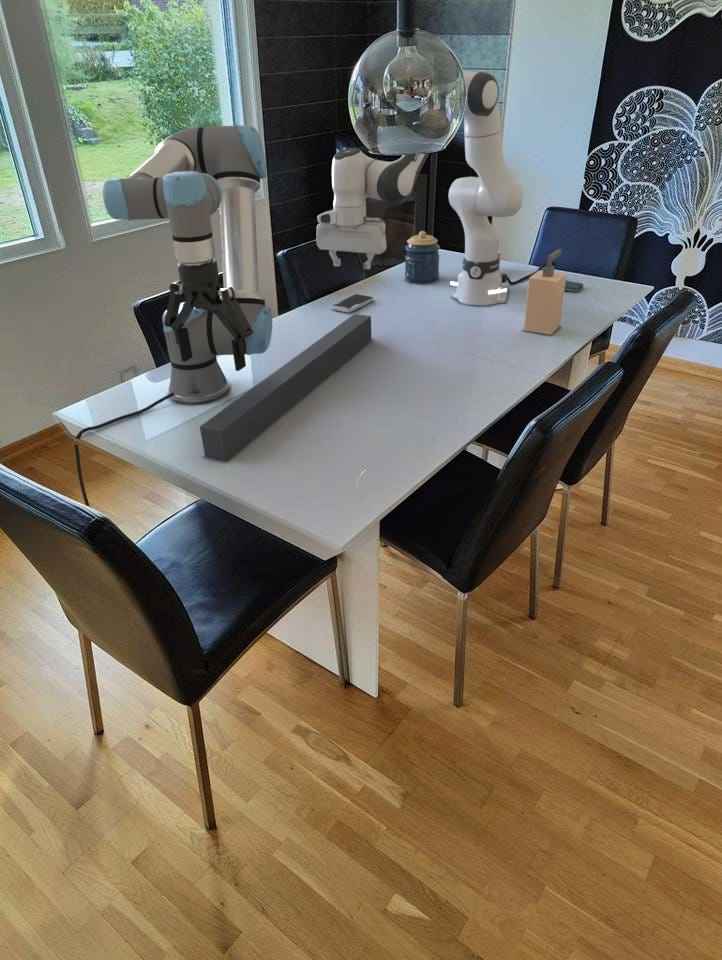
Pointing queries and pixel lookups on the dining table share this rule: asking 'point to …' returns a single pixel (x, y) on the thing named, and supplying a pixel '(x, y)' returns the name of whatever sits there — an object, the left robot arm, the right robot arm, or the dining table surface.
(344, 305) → the smartphone
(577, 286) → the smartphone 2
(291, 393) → the beam
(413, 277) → the canister
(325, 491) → the dining table surface
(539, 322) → the soap dispenser
